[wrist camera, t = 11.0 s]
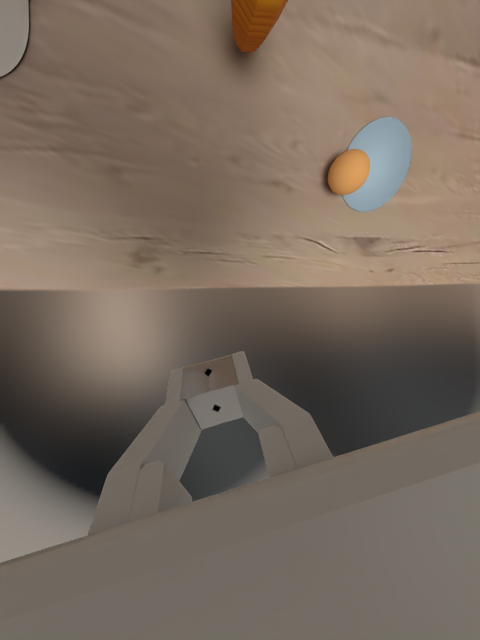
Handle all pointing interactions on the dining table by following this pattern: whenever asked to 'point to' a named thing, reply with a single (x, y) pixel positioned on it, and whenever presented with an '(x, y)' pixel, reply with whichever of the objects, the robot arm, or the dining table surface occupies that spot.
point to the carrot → (254, 21)
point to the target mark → (381, 162)
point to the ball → (349, 171)
